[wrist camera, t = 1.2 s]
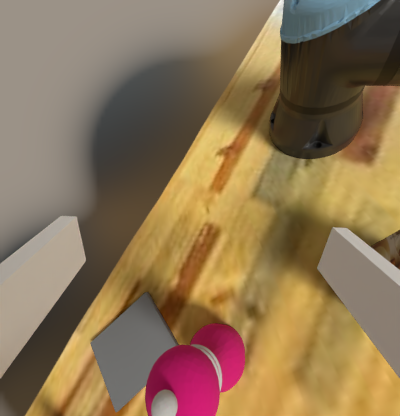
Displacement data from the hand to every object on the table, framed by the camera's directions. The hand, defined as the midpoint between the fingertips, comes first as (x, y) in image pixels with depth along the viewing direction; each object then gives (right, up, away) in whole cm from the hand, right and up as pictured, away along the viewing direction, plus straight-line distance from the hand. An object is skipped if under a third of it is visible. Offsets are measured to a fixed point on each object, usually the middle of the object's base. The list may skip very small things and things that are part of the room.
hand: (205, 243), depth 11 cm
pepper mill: (+3, -19, +20) cm, 28 cm away
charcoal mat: (-11, -21, +24) cm, 34 cm away
